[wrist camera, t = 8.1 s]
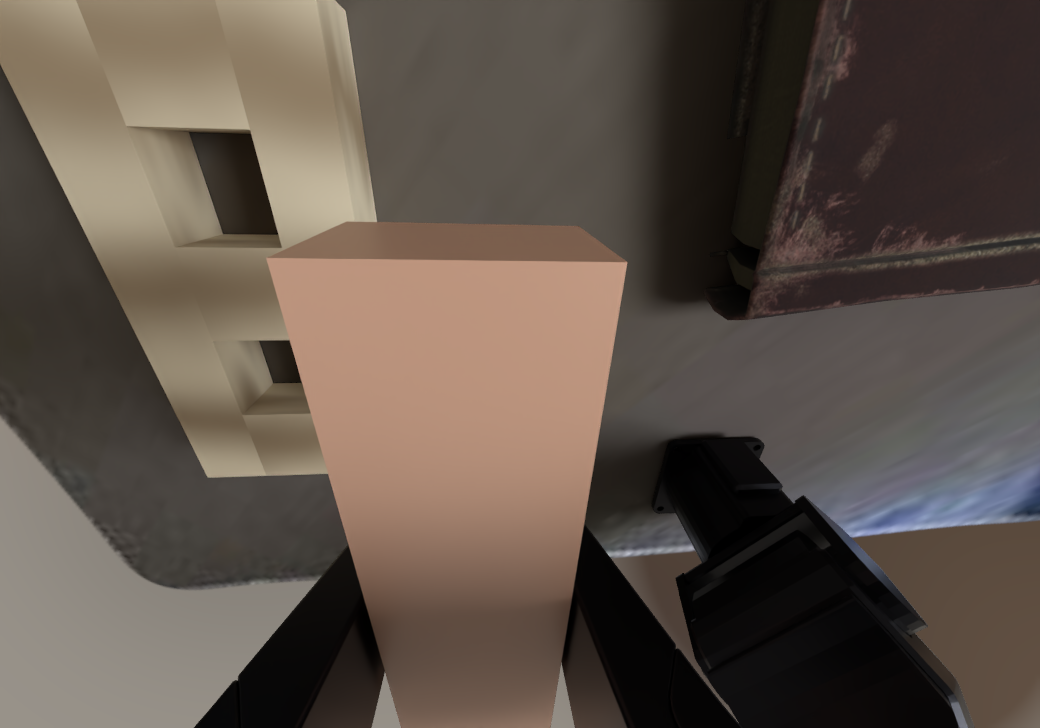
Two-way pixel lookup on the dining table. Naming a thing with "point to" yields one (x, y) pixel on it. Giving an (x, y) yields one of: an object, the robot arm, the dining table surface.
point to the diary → (883, 153)
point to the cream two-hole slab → (199, 185)
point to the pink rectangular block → (458, 443)
